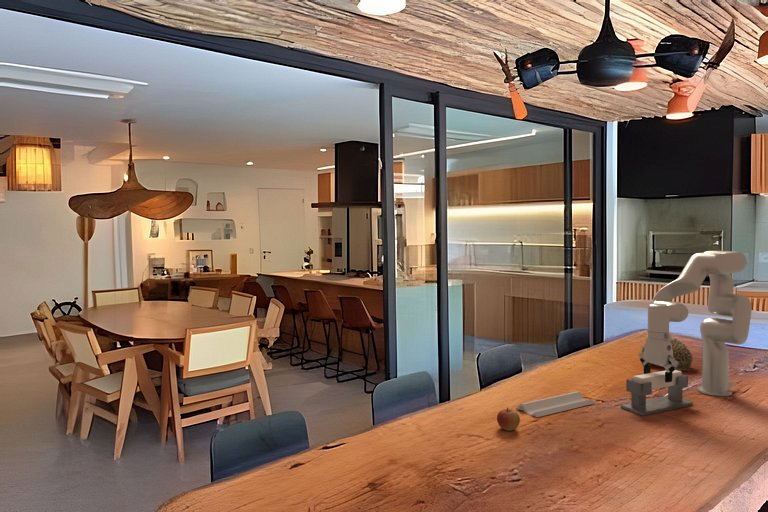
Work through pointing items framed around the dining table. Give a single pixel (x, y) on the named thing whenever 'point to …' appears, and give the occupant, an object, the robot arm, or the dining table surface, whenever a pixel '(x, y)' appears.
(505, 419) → the apple
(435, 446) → the dining table surface
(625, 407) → the bracket stand
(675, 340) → the coral
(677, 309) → the robot arm
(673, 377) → the rail
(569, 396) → the crown molding
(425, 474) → the dining table surface
